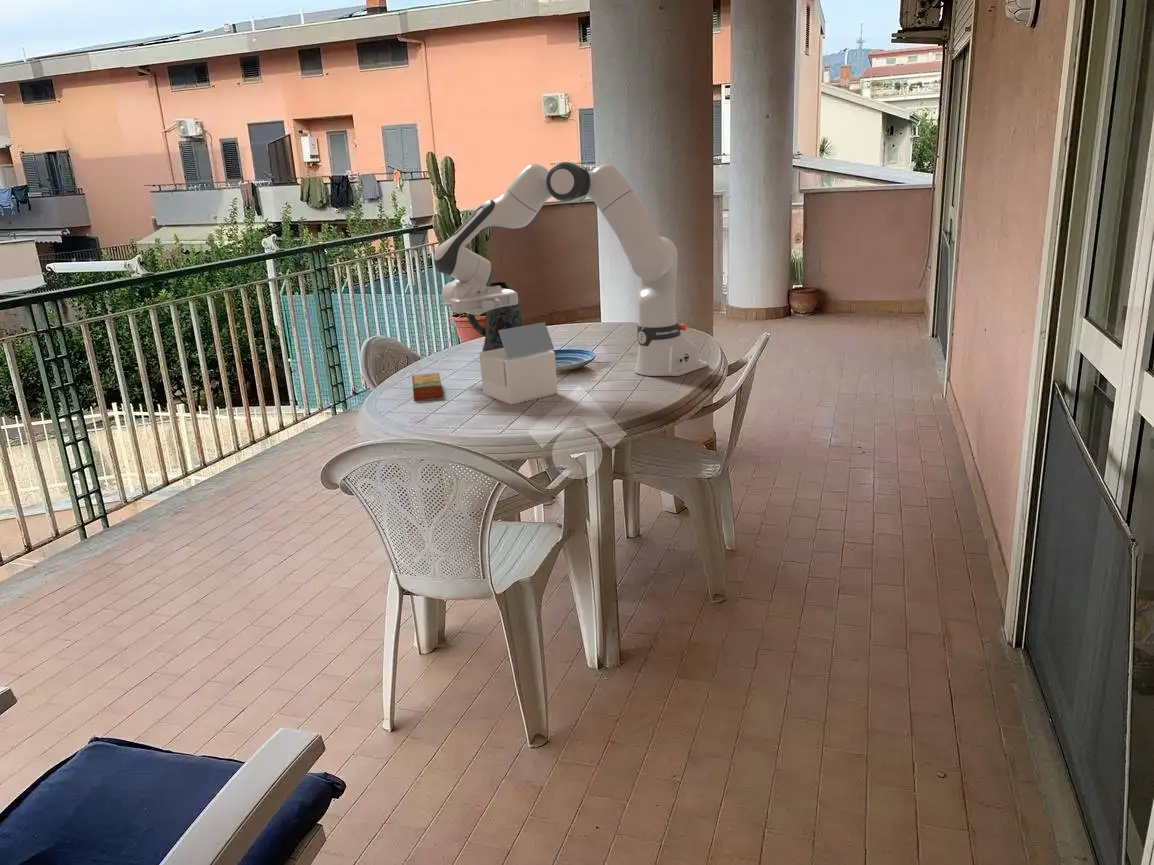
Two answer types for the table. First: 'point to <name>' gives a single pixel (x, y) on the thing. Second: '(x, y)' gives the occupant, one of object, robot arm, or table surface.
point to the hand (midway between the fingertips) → (496, 304)
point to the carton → (427, 386)
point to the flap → (526, 340)
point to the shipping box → (518, 375)
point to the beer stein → (497, 322)
